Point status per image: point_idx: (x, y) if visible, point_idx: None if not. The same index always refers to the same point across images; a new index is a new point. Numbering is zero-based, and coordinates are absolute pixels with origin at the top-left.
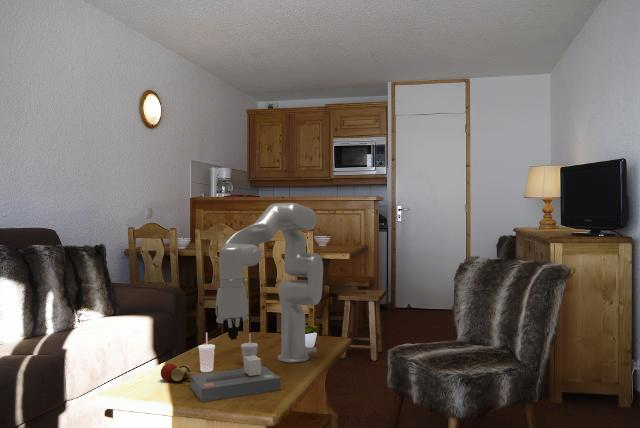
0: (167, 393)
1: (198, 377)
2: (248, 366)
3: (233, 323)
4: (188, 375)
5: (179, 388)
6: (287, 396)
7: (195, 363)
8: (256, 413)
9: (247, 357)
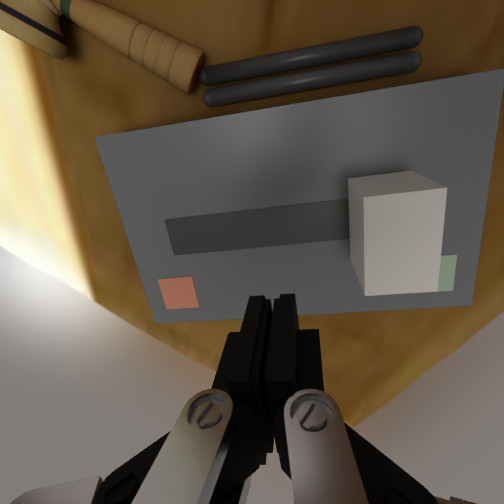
0: (50, 178)
1: (134, 181)
2: (357, 264)
3: (285, 427)
4: (85, 29)
5: (81, 129)
6: (437, 342)
7: None
8: None
9: (378, 226)
